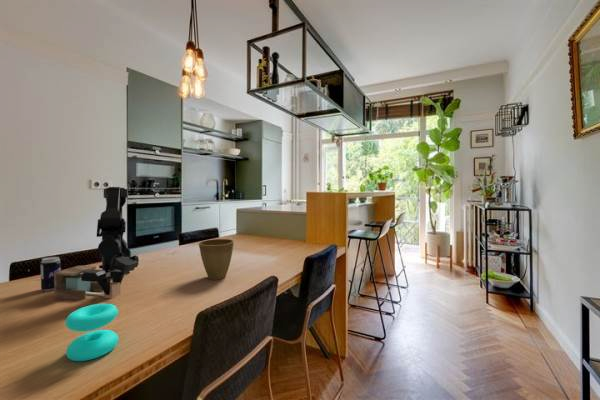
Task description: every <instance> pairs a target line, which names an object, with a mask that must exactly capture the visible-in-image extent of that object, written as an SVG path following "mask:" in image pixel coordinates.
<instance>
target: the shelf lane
mask: <svg viewBox="0 0 600 400" xmlns="http://www.w3.org/2000/svg"><path fill="white" fill-rule="evenodd" d="M93 269H95V270H97V266H91V265H75V266H73V267H68V268H65V269H61V271H57V272H54V290H53V291H54V298H61V299H73V300H86V298H87V297H86V290H75V289H66V278H67V277H70V276H75V275H78V274H83V273H84V272H86V271H89V270H93ZM90 289H91V291H100V292H104V291H103V289H102V288H101V286H100V285H99V284H98V282H90Z"/></svg>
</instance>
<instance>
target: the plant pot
mask: <svg viewBox="0 0 600 400" xmlns="http://www.w3.org/2000/svg"><path fill="white" fill-rule="evenodd" d="M234 242H235V240H233V239H229V238H216V239H215V238H213V239H205V240H202V241H200V242H198V248H199V253H200V257H201V261H202V264H203V267H204V270H205V273H206V274H207V278H208V279H209V280H213V281H215V280H221V279H222V280H223V279H224V278H226V276H227V274H228V270H229V268H230V264H231V261H232V256H233V250H234Z"/></svg>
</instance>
